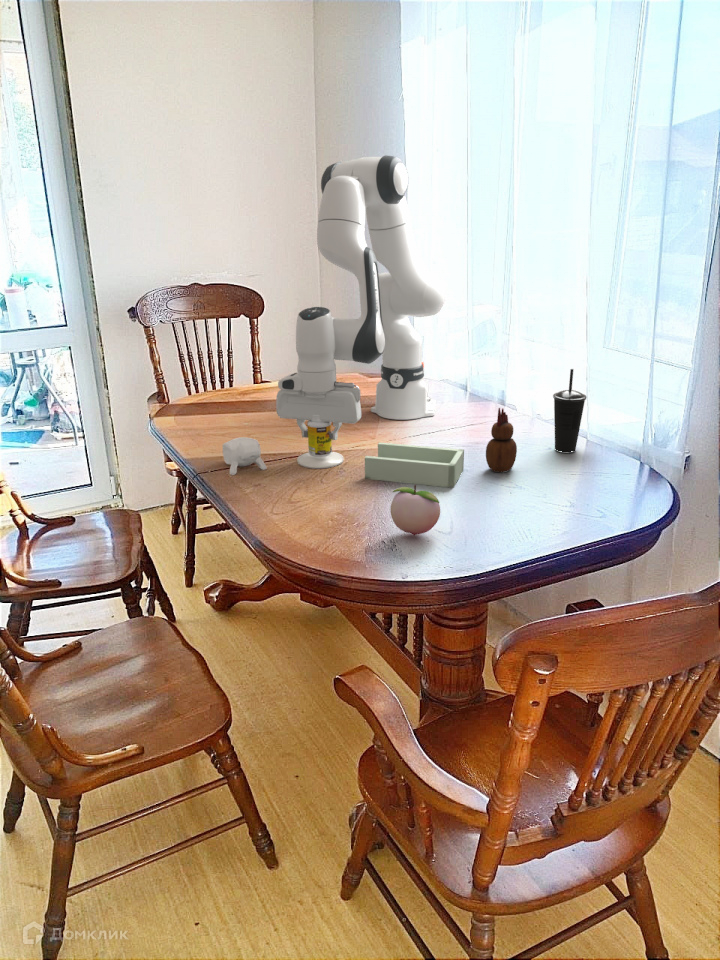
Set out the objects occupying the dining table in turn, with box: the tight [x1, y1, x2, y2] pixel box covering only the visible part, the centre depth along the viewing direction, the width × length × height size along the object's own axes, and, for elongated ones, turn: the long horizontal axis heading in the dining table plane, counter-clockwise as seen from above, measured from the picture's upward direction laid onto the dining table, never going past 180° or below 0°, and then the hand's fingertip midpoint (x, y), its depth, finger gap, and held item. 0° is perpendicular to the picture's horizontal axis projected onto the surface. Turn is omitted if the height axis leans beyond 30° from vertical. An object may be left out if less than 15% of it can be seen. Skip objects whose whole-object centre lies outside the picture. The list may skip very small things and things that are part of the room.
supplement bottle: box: [306, 415, 333, 457], centre depth 173 cm, size 6×6×10 cm
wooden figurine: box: [485, 407, 518, 473], centre depth 164 cm, size 7×6×15 cm
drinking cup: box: [552, 368, 587, 452], centre depth 175 cm, size 8×8×20 cm
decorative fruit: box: [390, 484, 441, 536], centre depth 134 cm, size 9×8×10 cm
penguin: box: [222, 437, 267, 476], centre depth 169 cm, size 9×8×15 cm
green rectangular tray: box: [364, 442, 465, 489], centre depth 164 cm, size 11×20×5 cm, turn 71°
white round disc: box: [297, 451, 344, 470], centre depth 175 cm, size 11×11×1 cm
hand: (319, 438), depth 173 cm, fingers closed on supplement bottle, 5 cm apart
